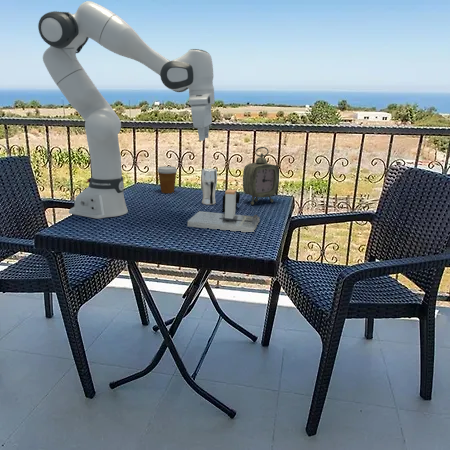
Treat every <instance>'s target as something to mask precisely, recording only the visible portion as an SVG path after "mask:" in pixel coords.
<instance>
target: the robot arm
mask: <svg viewBox="0 0 450 450" xmlns="http://www.w3.org/2000/svg"><path fill="white" fill-rule="evenodd" d="M37 27H38V32H39V36H40V37H41V39H42V40H43V42H45V44H47V45H49V47H48V48H47V49H46V50H45V51H44V52H43V55H42V61H43V63H44V66H45V67H46V70H47V72H48V74H49V76H50V78H51V79H52V80H53V81H54V83H55V84H56V86H57V87H58V89H59V90H60V92H61V93H62V95H63V96H64V98H65V99H66V100H67V102H68V103H69V105H71V107H72V108H74V110H75V111H76V112H77V113H78V114H79V115H80V117H81V118H82V119H83V120H84V130H85V136H86V142H87V145H88V150H89V155H90V166H91V177H89V178H88V179H86V181H85V183H88V186H87V187H86V188H85V189H84V190H82V191H81V192H80V193H79V194H77V195H76V197H75V199H74V206H73V207H71V208H70V209H69V210H68V214H69V215H75V216H79V217H87V218H90V219H91V218H92V219H104V218H113V217H119V216H123V215H126V214H127V213H128V212H129V210H128V207H127V204H126V200H125V196H124V195H125V194H124V191H125V189H124V185H125V183H124V177H123V173H122V172H123V171H122V155H121V151H120V143H119V134H120V132H121V128H122V122H121V119H120V117H119V116H118V114H117V113H116V111H115V110H114V109H113V108H112V106H111V105H110V103H109V102H108V101H107V99H106V98H105V97H104V96H103V94H102V92H100V91H99V89H98V88H97V86H96V85H95V83H94V82H93V80H92V79H91V78H90V76H89V75H88V73H87V71H86V70H85V69H84V68H83V66H82V64H81V63H80V62H79V60H78V57H77V54H79V53H80V52H81V51H82V49H83V47H84V46H85V45H87V42H88V41H89V39H91V40H93V41H94V42H96V43H97V44H99V45H100V46H102V47H103V48H105V49H107V51H110V52H112V53H114V54H116V55H118V56H121V57H125V58H127V59H131V60H134V61H136V62H139V63H140V64H142V65H144V66H145V67H147V68H148V69H150V70H151V71H152V72H154V73H156V74H157V75H158V76H160V80H161V82H162V84H163V85H164V86H165V87H166V88H167V89H169V90H171V91H173V92H176V93H183V92H186V91H187V90H188V96H189V97H188V105H189V106H190V111H191V119H192V120H191V121H192V124H193V128H194V129H197V133H198V140H199V142H201V141H205V139H208V138H209V131H210V125H212V123H213V122H212V121H213V118H212V105H215V104H216V103H215V87H214V83H213V82H214V81H213V80H214V66H213V65H214V64H213V59H212V56H211V54H210V53H209V52H207V51H206V50H203V49H199V48H190V49H188V50H187V52H186V53H184V54H183V55H181V56H179V57H177V58H175V59H172V60H169V59H167V58H166V57H165V56H163V55H162V54H160V53H159V52H158V51H156V50H155V49H153V48H152V47H150V45H148V44H147V43H146V41H144V40H143V38H141V36H140V35H139V34H138V33H137V31H135V30H134V28H133V27H132V26H131V25H130V24H129V23H127V22H126V21H125V20H124V19H123V18H121V16H119V15H117V14H116V13H114V12H113V11H111V10H110V9H108V8H106V7H104V6H103V5H100V4H99V3H96V2H94V1H92V0H87V1H83V2H82V3H81V4H80V5H79V6H78V8H77V9H76V12H75V13H71V12H69V11H68V12H67V11H57V10H54V11H49V12H46V13H45V14H43V15H42V16H41V17H40V18H39V20H38V23H37Z"/></svg>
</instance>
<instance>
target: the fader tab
mask: <svg viewBox="0 0 450 450" xmlns="http://www.w3.org/2000/svg"><path fill="white" fill-rule="evenodd" d="M236 191H237V189H230V188H228V189H226V190H225V192H224V194H226V195H225V212H224V214H225V215H224V216H223V217H222V219H226V220H236V219H237V218H238V216H235V215H236V208H237V207H236ZM235 207H236V208H235Z"/></svg>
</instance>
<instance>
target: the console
mask: <svg viewBox="0 0 450 450" xmlns="http://www.w3.org/2000/svg"><path fill="white" fill-rule="evenodd" d="M224 215H225V213H224V212H222V213H221V212H212V211H201V210H199V211H198V212H196V213H195V214H194V215H193V216H191V218H189V219H188V220H187V227H190V228H198V229H207V228H209V229H208V230H217V229H220V230H219V231H226V230H230V231H229V232H236V231H241V232H240V233H246V232H255V231H256V229H257V228H258V226H259V224H258V223H260V216H258V214H254V215H253V216H252V215H245V214H244V215H243V214H235V216H238V218H237V219H236V220H226V219H222V217H223V216H224ZM257 225H258V226H257ZM254 230H255V231H254Z"/></svg>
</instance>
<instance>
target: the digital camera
mask: <svg viewBox="0 0 450 450" xmlns="http://www.w3.org/2000/svg"><path fill="white" fill-rule="evenodd" d="M225 195H226V194H225V193H224V194H223V195H222V205H221V206H222V209H221V210H222V211H221V212H222V213H225ZM240 195H241V194H240V192H238V191H237V190H236V207H235V209H236V208H237V206H238V204H239V203H240V200H241V199H240V198H241V196H240Z"/></svg>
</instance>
